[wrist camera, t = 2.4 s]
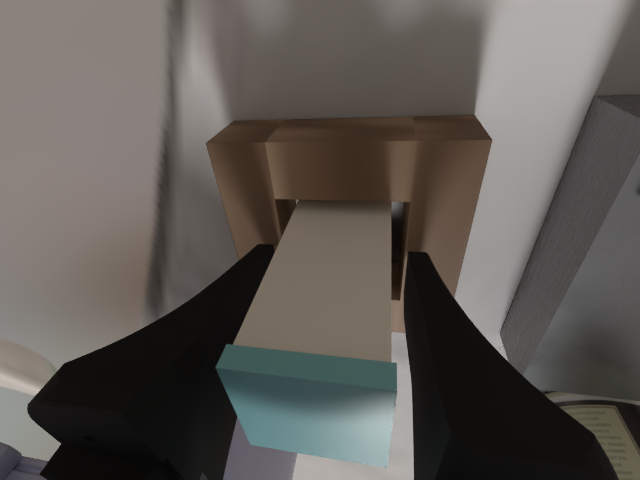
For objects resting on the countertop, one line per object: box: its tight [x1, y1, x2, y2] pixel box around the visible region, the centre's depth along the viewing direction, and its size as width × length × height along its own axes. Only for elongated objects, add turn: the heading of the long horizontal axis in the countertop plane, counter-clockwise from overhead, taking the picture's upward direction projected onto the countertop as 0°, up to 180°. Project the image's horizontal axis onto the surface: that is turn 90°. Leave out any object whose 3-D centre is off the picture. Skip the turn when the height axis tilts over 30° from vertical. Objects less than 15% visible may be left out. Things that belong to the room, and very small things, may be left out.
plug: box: [216, 199, 397, 468], centre depth 11 cm, size 4×4×9 cm
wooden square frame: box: [206, 115, 492, 333], centre depth 14 cm, size 9×9×2 cm
